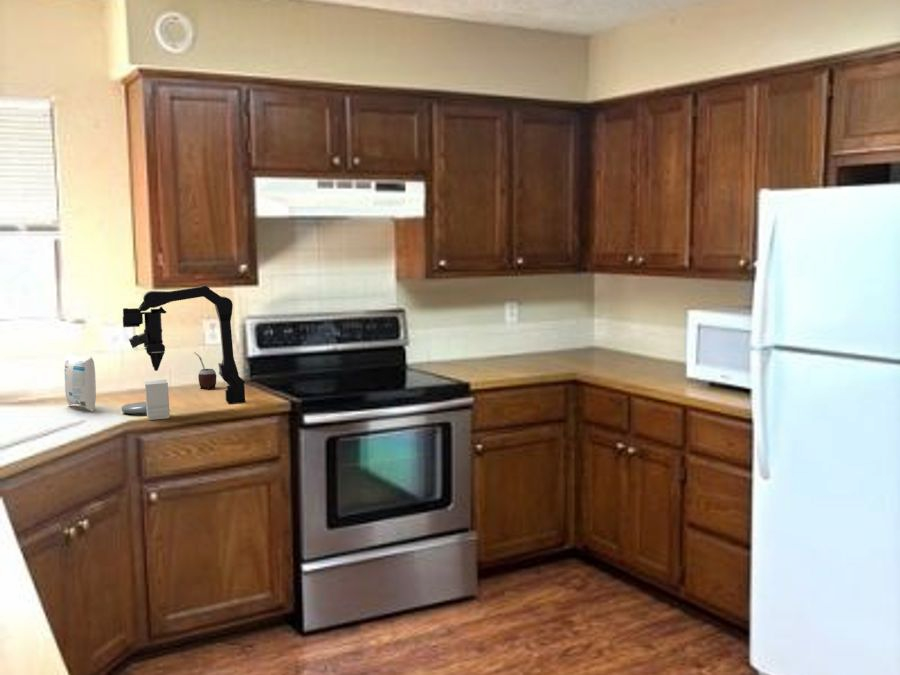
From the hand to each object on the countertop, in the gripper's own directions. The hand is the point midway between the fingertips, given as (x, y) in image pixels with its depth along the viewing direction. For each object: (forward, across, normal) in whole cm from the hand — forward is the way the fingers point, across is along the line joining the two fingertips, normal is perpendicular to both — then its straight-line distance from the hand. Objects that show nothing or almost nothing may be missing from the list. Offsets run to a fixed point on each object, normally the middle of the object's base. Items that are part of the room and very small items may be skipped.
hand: (155, 368), depth 324 cm
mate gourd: (+15, -34, +22) cm, 43 cm away
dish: (+15, +4, -5) cm, 16 cm away
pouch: (+15, -12, -26) cm, 32 cm away
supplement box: (+15, +17, -1) cm, 22 cm away
